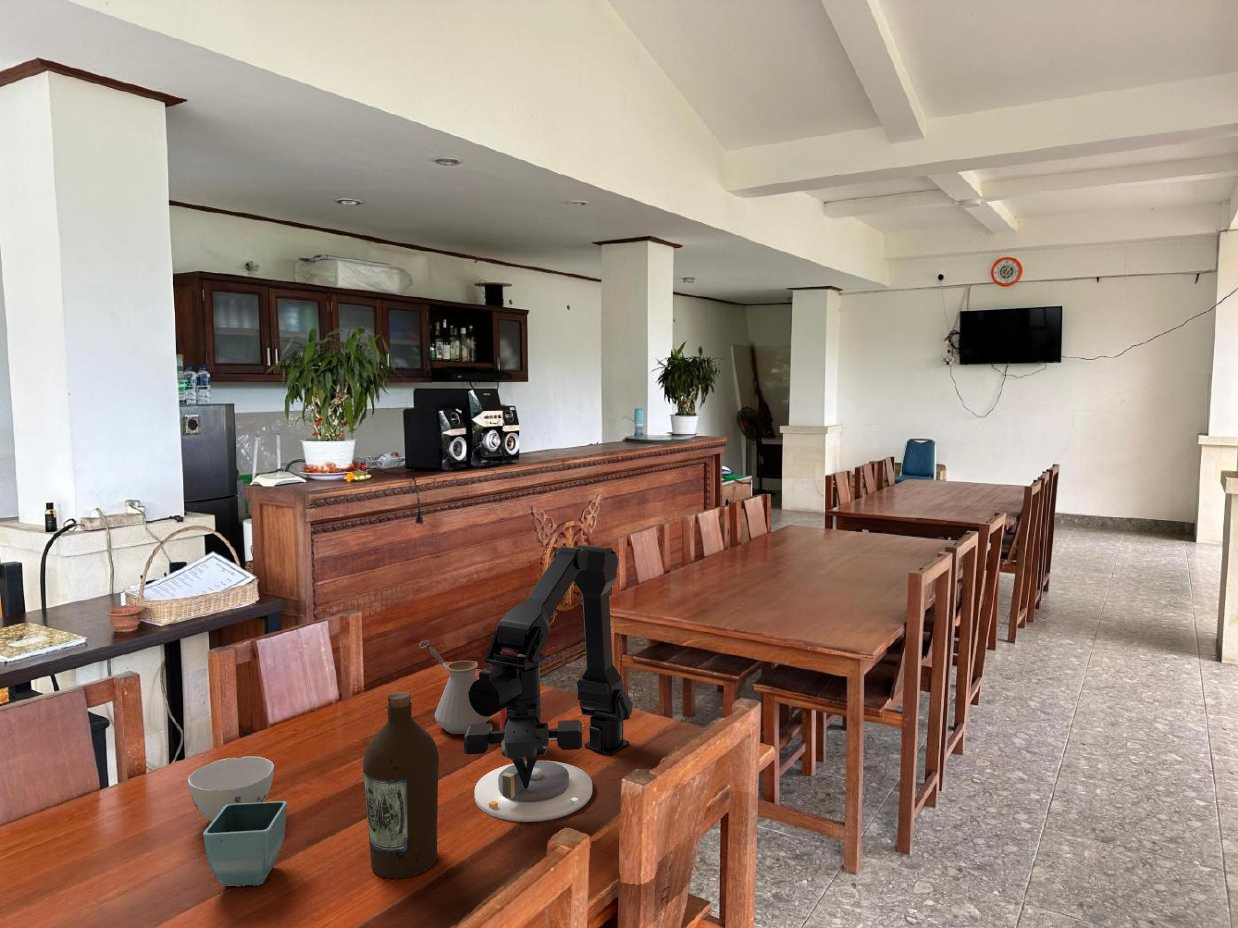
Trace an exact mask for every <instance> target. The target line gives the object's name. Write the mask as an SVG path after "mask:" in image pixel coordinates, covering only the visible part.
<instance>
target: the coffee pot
mask: <svg viewBox="0 0 1238 928" xmlns="http://www.w3.org/2000/svg"><path fill="white" fill-rule="evenodd" d="M422 643H423V645H424V646H421V644H422ZM432 645H433V644H430V642H429V641H428V640H426V639H423V640H422V641H421V642H420V643H419V645H418V647H419V648H420V649H425V648H426V650H428V651H429V652H430V654H431V656H432V657H433V658H434V659H435V660H436V661H437V662H438V663H439V664H440V665H441V666H442V667H443V668H444V670H445V671H446V672H447V673H448V674H449V677H448V680H447V682H446V685H445V687H444V690H443V692H442V695H441V698H440V699H439V702H438V705H437V707H436V709H435V713H434V719H435V721H436V724H437V725H439V726H440V728H442V729H444V731H445V732H447V733H449V734H453V735H466V732H467V729H468V728H469V726H470V725H471V724H487V722H489V720H490V718H491V716H489V717H484V716H481V715H479V714H478V713H477V712H476V711H475V710H474V709H473V708H472V706H471V704H470V701H469V696H468V692H469V691H470V687H471V685H472V684H473V683H474V682H475V681H476V680H478V678H477V676H476V670H477V669H478V667H479V663H478V661H474V660H458V661H453V662H452V661H451V662H450V663H448V664H447V663H446V662H445V660H444V659H443V658H442V656H441V655H440V653H439V652H438V650H436V649H435V648H434V647H433V646H432Z"/></svg>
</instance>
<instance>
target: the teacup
mask: <svg viewBox="0 0 1238 928" xmlns="http://www.w3.org/2000/svg"><path fill="white" fill-rule="evenodd" d="M274 767H275V765H274V763H273V761H271V760H270V759H267V758H265V757H261V756H249V755H248V756H245V755H243V756H242V757H238V758H237V757H229V758H228V757H227V758H223V759H218V760H215V761H213V762H211V763H209V764H206V765H204V766H202V767H200V768H198V769H195V770H194V771H193V772H192V773H191V774H189V776H188V778H187V785H188V791H189V794H190V797H191V799H192V802H193V805H194V806H195V808H196V810H197V811H198V812H199V814H201V816H203V818H205V819H206V820H207V821H210V822H211V823H212V821H213V820H214V819H215V818H216V816H217V815H218V814H219V813H220V811H221V810H222V809H223V807H224V806H225V805H227V804H235V803H256V802H266V801H265V800H266V799H267V797H268V795H269V793H270V789H271V786H272V783H273V778H274V770H275V769H274Z"/></svg>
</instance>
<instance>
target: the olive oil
mask: <svg viewBox="0 0 1238 928" xmlns="http://www.w3.org/2000/svg"><path fill="white" fill-rule="evenodd" d="M411 697H412V696H411V692H407V691H396V692H392V693H390V694H389V695H387V702H388V703H387V705H386V706H387V708H386V709H387V710H386V711H387V722H386V723H385V724H384V725H383V726H382V728H381V729H380V730H378V732H377V733H376V734H375V735H374V737H372V739H371V740H370V741H369V743H368V745H367V747H366V749H365V752H364V757H363V760H362V776H363V783H364V792H365V804H366V814H367V815H366V816H367V827H368V841H369V857H370V866H371V870H372V872H373V873H374V874H376V875H377V876H380V877H382V878H386V879H391V880H393V879H397V880H398V879H407V878H411V877H415V876H417V875H420V874H423V873H424V872H426V871H428V870H429V869H430V868H431V867H432V866H433V865H434V864H435V862H436V861H437V859H438V802H439V801H438V798H439V795H438V794H439V769H440V768H439V765H440V761H439V759H440V757H439V751H438V747H437V744H436V742H435V739H434V738H433V736H432V735H431V734H430V733H429V732H428V731H427V730H426V729H424V727H422V726H421V725H419V723H417V721H415V719H413V717H412V712H413V711H412V709H413V707H412V705H413V704H412V702H411Z"/></svg>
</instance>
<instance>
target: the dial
mask: <svg viewBox="0 0 1238 928" xmlns="http://www.w3.org/2000/svg"><path fill="white" fill-rule="evenodd" d="M548 761H549V760H537V761H536V763H535V765H534V768H533V771H532V775H531V779H530V782H529V786H528V788H526V789H525V788H524V786H523V783H522V781H521V778H520V776H519V773H518V771H517V769H516V767H515V765H512V766H509V767H507V768H506V769H504V770H503V771H502V772H501V773H500V774H499V777H498V789H499V791H500V793H501V794H502V795H503V797H507V798H510V799H513V800H517V801H524V802H535V801H543V800H548V799H551V798H554V797H556V796H559V795H560V794H562V793H563V792H565V791H566V790H567V788H568V786H569V773H568V771H567V769H566V768H564V767H563V766H561V765H559V764H557V763H553V762H548ZM526 764H527V762H526Z"/></svg>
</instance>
